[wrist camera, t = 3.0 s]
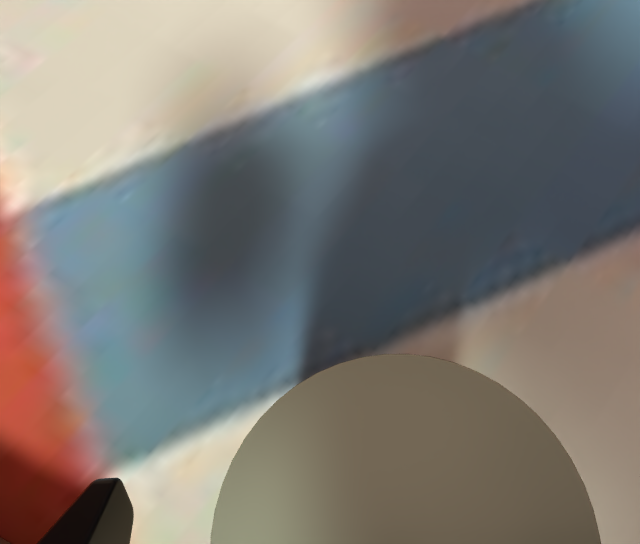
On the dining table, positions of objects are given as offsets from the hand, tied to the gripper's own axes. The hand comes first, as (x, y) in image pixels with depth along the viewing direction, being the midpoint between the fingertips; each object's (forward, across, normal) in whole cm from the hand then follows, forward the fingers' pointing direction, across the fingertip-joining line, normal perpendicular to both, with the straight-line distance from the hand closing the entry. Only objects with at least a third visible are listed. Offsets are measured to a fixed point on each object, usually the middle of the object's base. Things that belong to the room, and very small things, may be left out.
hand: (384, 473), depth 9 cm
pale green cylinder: (+5, 0, +6) cm, 8 cm away
